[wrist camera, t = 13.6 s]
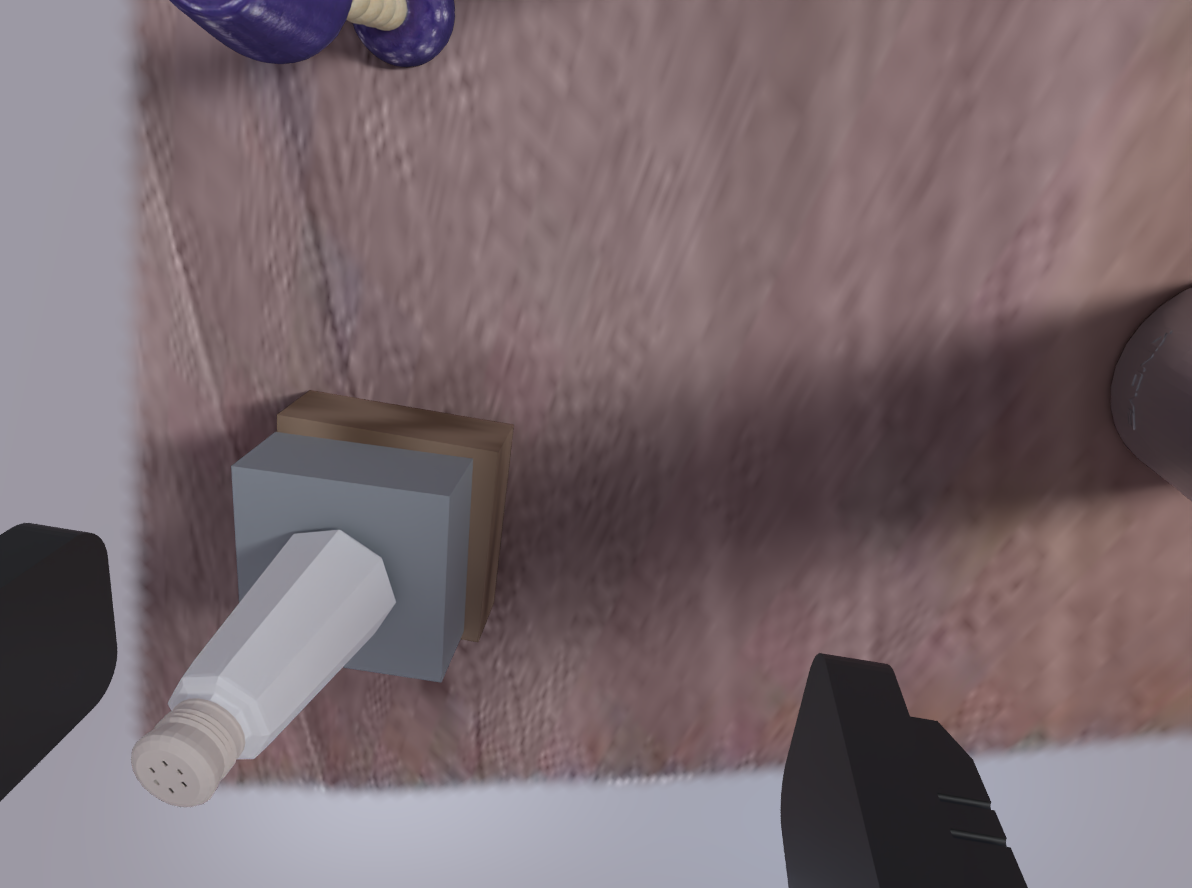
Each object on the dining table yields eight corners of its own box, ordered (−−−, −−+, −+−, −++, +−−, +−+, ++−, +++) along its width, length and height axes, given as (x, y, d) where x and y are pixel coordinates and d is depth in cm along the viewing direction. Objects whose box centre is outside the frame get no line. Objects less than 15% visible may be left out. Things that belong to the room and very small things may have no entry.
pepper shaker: (331, 654, 38) (170, 863, 28) (251, 558, 36) (53, 741, 27) (423, 607, 36) (285, 814, 26) (342, 504, 34) (165, 680, 25)
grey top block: (473, 458, 38) (449, 496, 34) (463, 631, 41) (441, 682, 38) (275, 431, 39) (231, 466, 35) (282, 604, 42) (242, 652, 38)
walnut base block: (515, 421, 42) (498, 452, 38) (495, 598, 45) (478, 642, 42) (313, 387, 42) (277, 414, 38) (310, 565, 46) (276, 606, 42)
